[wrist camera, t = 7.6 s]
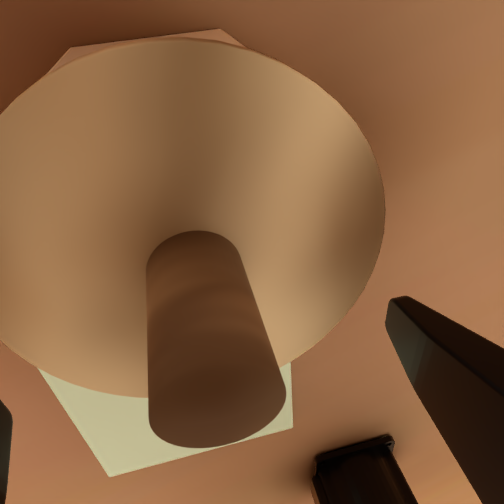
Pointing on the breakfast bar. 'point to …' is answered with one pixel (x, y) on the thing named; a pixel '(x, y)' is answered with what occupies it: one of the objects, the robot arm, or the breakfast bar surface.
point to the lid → (182, 228)
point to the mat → (136, 426)
